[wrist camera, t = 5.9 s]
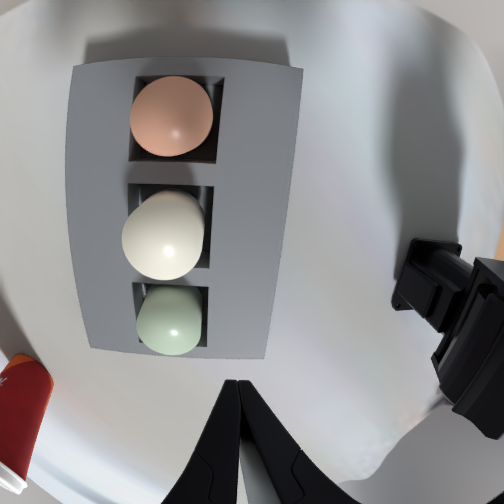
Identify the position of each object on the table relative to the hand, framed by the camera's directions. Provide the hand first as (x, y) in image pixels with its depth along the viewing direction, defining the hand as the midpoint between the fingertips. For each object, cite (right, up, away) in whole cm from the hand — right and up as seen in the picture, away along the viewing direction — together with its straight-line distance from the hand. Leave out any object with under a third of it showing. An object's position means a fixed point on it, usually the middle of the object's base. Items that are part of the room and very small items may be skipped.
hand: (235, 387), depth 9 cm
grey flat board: (-4, +7, +9) cm, 12 cm away
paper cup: (-23, -8, +13) cm, 28 cm away
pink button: (-4, +12, +6) cm, 14 cm away
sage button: (-5, +1, +10) cm, 12 cm away
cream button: (-4, +6, +7) cm, 11 cm away
